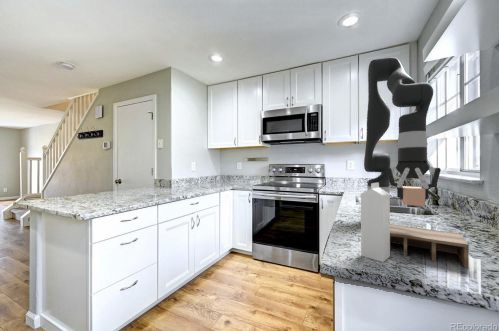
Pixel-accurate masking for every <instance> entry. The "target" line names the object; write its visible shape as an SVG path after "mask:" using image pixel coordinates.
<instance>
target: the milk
mask: <svg viewBox="0 0 499 331" xmlns="http://www.w3.org/2000/svg"><path fill="white" fill-rule="evenodd" d="M390 195H391V194H389V193H388V192H386V191H384V190H383V189H381V188H379V183H371V189H369V190H368V189H367V190H366V191H363V192H361V193H360V255H361V257H364V258H368V259H371V260H375V261H378V262H381V263H384V262H385V261H386V260H387V259H389V258H390V256H391V242H390V224H391V220H390V218H391V215H390V214H391V209H390V208H391V206H390V205H391V203H390V201H391V200H390V197H391V196H390Z"/></svg>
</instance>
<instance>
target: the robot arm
mask: <svg viewBox="0 0 499 331" xmlns="http://www.w3.org/2000/svg"><path fill="white" fill-rule="evenodd" d="M367 71H368V72H367V82H368V83H367V86H368V88H367V90H368V91H367V92H368V93H367V94H368V98H367V101H368V102H367V113H366V137H365V138H366V139H365V141H366V142H365V149H364V158H363V159H364V160H363V167H364V168H363V169H364V170H365V172H367V173H380V174H379V175H378V176H377V177H373V178H371V179H368V180H367V190H369V189H371V183H379V188H381V189H383V190H384V191H386V192H388V193H389V194H390V192H391V191H390V186H392V187H395V188H396V191H397V193H396V194H397V195H396V196H397V198H399V200H400V201H401V200H402V199H403V188H402V186H403V184H404V182H405V180H406V179H415V180H419V181H420V183H421V185H422V188H423V189H425V202H426V201H427V200H429V198H430V197H429V196H430V194H429V193H430V192H429V190H430V189H432V188H436V187H437V184H438V183H439V182H438V181H439V178H440V174H441V170H442V169H441V168H440V167H433V166H430V165H429V164H428V145H429V144H428V137H427V115H428V113H429V112H428V111H429V108H430V105H431V102H432V101H433V97H434V88H433V86H432V85H431V84H430V83H429V82H417V83H416V81H415V80H414V79H413V78H412V76H410V75H409V74H408V73H406V71H405V70H404V67H403V65H402V63H401V61H400V60H399V59H398V58H397V57H395V56H388V57H384V58H383V57H382V58H377V59H372V60H371V61H370V62H369V65H368V70H367ZM379 82H386V87H387V89H388V90H389V92H390V93H391V95H392V96H391V101H392V104H393V106H394V107H397V108H412V107H415V110H414V112H413V111H412V112H409V113H405V114H402V115H401V116H399V118H398V136H397V143H396V144H397V145H396V146H397V164H396V166H394V167H391V156H390V155H389V154H388V153H386V152H385V153H384V152H382V153H375V152H374V151H375V148H376V146H377V144H378V142H379V141H380V140H381V139H382V137H383V136H384V135H385V134H386V133H387V131H388V130H389V128H390V124H391V123H390V122H391V110H390V107H389V105H388V104H387V103H386V101H385V100H384V98H383V97H382V95H381V93H380V90H379V86H378V83H379ZM396 171H397V172H398V173H399V174H400V175H401V176H400V178H399V181H398V182H396V181H395V177H394V174H395V173H396ZM428 171H430V174H431V175H432V178H431V182H430V183H427V180H426V179H425V177H424V175H425V174H426V173H427V172H428ZM390 195H391V194H390Z"/></svg>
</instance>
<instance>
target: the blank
mask: <svg viewBox="0 0 499 331" xmlns="http://www.w3.org/2000/svg"><path fill="white" fill-rule="evenodd" d="M402 188H403V199H402V200H401V199H400V202H402V204H403V205H405V206H417V207H426V201H425V189H423V187H420V186H408V185H406V186H404V185H402Z"/></svg>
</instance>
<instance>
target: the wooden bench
mask: <svg viewBox="0 0 499 331" xmlns="http://www.w3.org/2000/svg"><path fill="white" fill-rule="evenodd" d="M390 244H398V245H403V256H405V257H408V247H415V248H421V249H428V250H429V253H430V256H431V261H432V262H437V251H438V252H443V253H449V254H455V255H457V256H458V259H459V260H460V262H461V263H462V266H463V267H464V268H465V269H470V268H469V267H470V263H469V262H470V260H469V259H470V255H469V252H470V250H469V249H470V247H469V245H470V244H469V242H467V241H466V239H465V238H464V237H463V235H462V234H461V233H457V232H450V231H442V230H437V229H436V230H435V229H429V228H423V227H422V228H421V227H412V226H404V225H397V224H391V223H390Z"/></svg>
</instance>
